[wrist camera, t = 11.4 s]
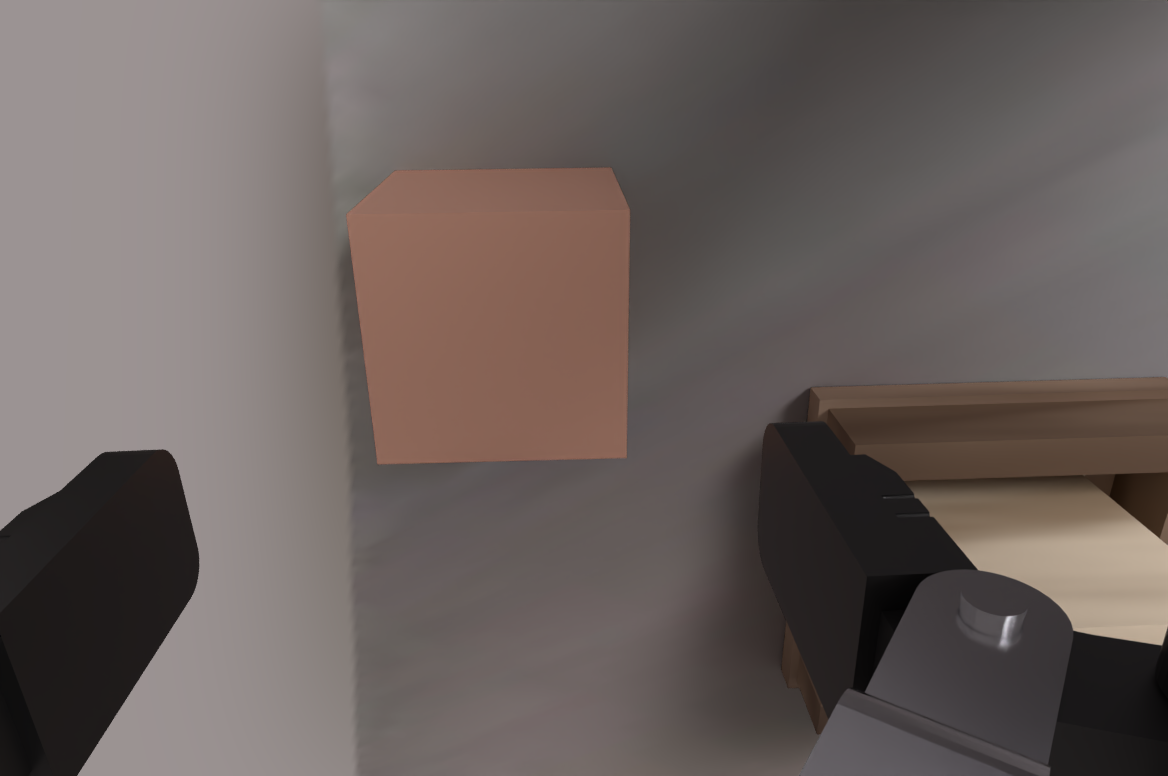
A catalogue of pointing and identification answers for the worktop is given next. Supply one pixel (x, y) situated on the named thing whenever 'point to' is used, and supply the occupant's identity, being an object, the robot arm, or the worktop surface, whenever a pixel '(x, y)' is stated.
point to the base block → (1060, 547)
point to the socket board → (1004, 445)
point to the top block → (494, 314)
